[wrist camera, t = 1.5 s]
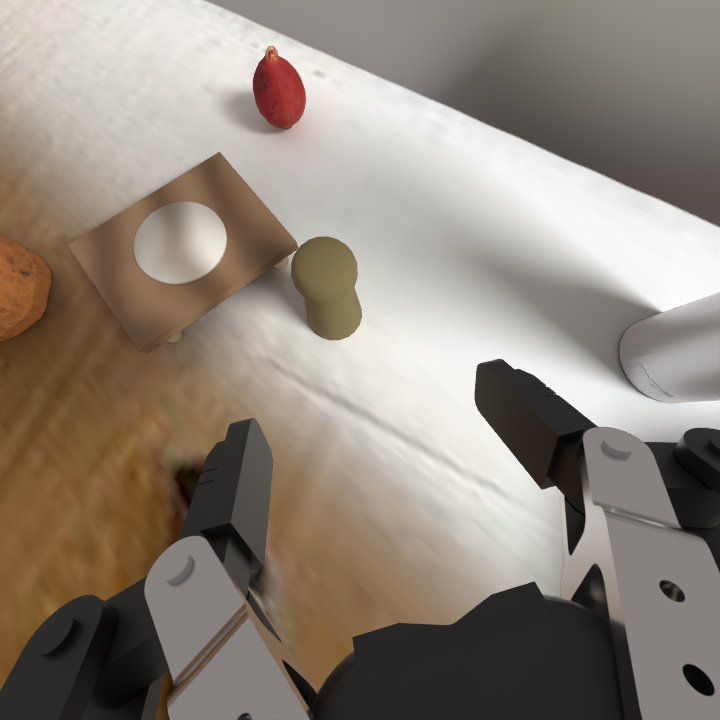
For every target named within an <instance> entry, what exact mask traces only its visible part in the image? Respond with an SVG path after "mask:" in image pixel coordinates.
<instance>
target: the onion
mask: <svg viewBox="0 0 720 720" xmlns="http://www.w3.org/2000/svg"><path fill="white" fill-rule="evenodd" d="M253 91H254V96H255V100H256V105H257V107H258V109H259V111H260V113H261V114H262V115H263V116H264V117H265V118H266V119H267V121H268V122H269V123H270V124H272V125H275V126H277V127H280V128H291V127H292V126H293V125H294V124H295V123H297V122H298V121H299V119H300V118H301V116H302V115H303V112H304V109H305V103H306V93H305V89H304V86H303V83H302V80H301V78H300V76H299V74H298V72H297V71H296V70H295V68H294V67H293V66H292V65H291V64H290V63H289V62H288V61H287V60H285V59H284V58H282V57H279V56H278V53H277V50H276V49H275V47H274V46H269V47H268V48H267V50H266V53H265V56H264V58H263V59H262V60H261V61H260V62H259V64H258V66H257V68H256V71H255V74H254V78H253Z"/></svg>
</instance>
